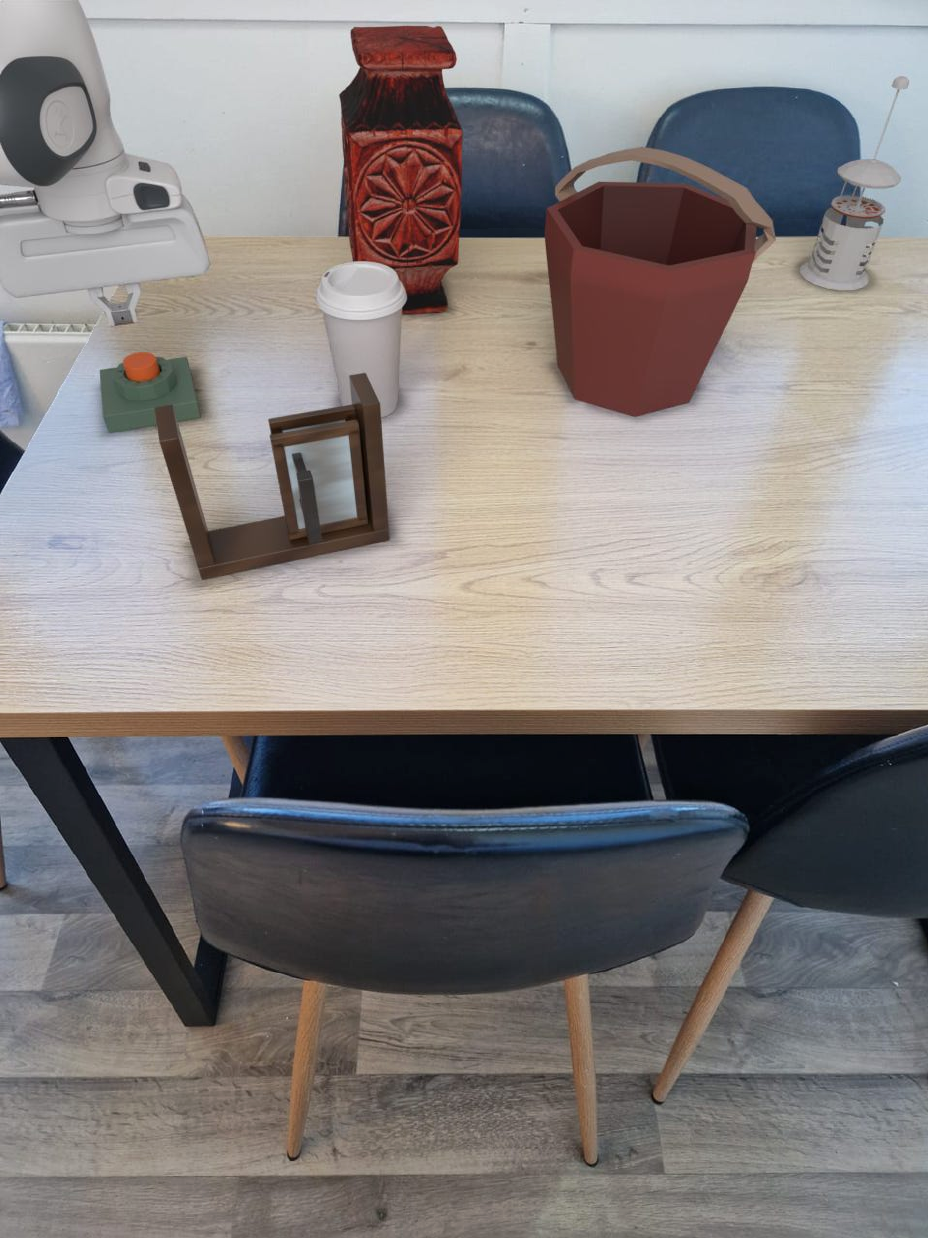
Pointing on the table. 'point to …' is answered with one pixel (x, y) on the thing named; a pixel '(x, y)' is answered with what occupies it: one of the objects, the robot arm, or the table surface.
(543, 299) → the table surface
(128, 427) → the button block
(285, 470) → the sliding window sash
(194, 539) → the window frame
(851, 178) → the french press
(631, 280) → the bucket
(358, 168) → the vase
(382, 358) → the coffee cup
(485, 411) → the table surface
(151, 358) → the button
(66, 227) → the robot arm
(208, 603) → the table surface
